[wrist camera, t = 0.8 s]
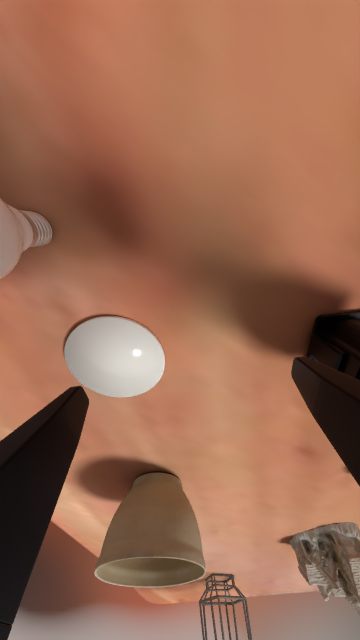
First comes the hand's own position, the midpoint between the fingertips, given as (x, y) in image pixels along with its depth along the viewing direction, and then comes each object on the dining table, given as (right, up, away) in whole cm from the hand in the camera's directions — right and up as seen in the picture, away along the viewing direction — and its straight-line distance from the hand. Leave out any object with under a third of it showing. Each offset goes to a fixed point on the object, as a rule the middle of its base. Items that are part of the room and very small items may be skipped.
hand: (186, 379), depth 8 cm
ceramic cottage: (+39, -56, +43) cm, 80 cm away
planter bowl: (-5, -30, +29) cm, 42 cm away
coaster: (-8, -2, +15) cm, 17 cm away
